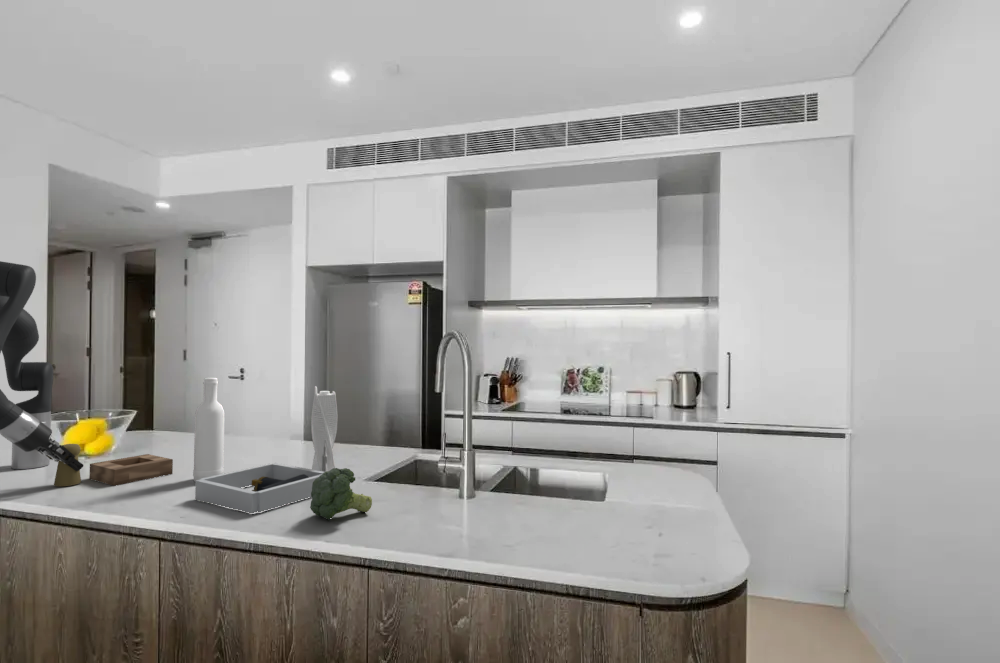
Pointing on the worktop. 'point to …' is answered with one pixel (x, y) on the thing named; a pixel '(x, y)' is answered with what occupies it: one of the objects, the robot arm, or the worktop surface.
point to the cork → (68, 469)
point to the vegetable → (336, 494)
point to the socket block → (130, 469)
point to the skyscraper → (324, 429)
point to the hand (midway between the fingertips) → (76, 467)
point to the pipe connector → (273, 482)
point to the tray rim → (231, 494)
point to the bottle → (209, 434)
